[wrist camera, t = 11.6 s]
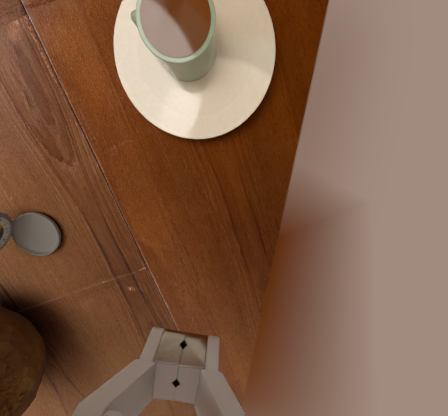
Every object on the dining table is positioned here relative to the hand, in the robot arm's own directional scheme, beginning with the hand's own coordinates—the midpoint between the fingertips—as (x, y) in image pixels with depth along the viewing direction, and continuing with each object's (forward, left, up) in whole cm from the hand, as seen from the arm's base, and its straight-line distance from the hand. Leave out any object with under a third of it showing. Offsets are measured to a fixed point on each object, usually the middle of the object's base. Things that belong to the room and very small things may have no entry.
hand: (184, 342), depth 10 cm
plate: (+5, -18, -23) cm, 29 cm away
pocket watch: (+25, +8, -23) cm, 35 cm away
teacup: (+5, -18, -21) cm, 28 cm away
